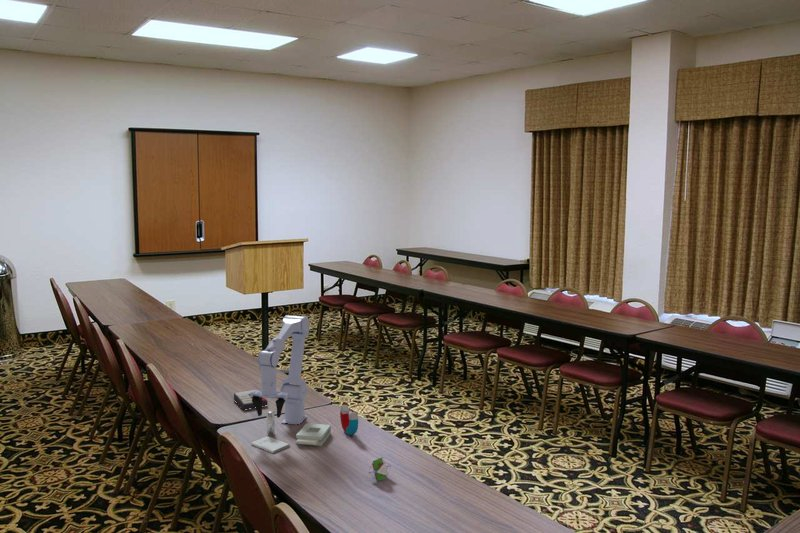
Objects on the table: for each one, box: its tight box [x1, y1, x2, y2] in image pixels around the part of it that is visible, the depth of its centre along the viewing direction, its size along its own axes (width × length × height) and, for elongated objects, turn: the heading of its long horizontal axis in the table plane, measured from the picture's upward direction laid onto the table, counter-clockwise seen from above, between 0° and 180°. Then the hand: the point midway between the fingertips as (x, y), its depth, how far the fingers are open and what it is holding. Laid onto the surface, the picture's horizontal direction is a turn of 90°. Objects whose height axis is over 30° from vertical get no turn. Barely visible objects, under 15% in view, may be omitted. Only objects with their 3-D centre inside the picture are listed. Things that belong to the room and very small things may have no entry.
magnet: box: [339, 404, 359, 436], centre depth 247 cm, size 12×3×10 cm, turn 29°
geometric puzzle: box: [368, 457, 392, 482], centre depth 209 cm, size 7×7×8 cm
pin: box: [266, 410, 276, 436], centre depth 245 cm, size 3×3×9 cm
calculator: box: [233, 389, 268, 411], centre depth 280 cm, size 11×4×15 cm
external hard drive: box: [250, 435, 291, 454], centre depth 235 cm, size 2×8×12 cm
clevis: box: [295, 422, 332, 447], centre depth 241 cm, size 14×10×4 cm
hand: (269, 415), depth 239 cm, fingers open, 7 cm apart
